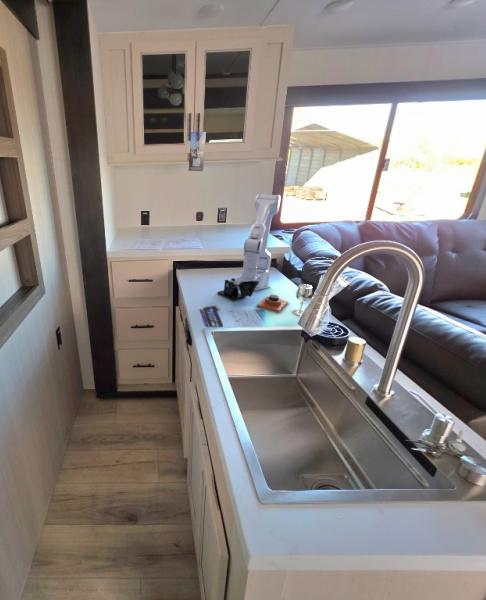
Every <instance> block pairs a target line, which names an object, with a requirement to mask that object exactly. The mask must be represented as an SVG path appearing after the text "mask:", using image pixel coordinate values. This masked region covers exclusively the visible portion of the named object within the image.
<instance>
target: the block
mask: <svg viewBox="0 0 486 600" xmlns="http://www.w3.org/2000/svg"><path fill="white" fill-rule="evenodd" d="M269 297H270V295H268V296H267V295H266V297H265V298H263V299H262V300H261V301H260V302H259V303H258V304H257V308H260V309H263V310H267V311H271V312H275V313H280V312H281V311H282V310H283V309H284V308H285V307H286V306H287V305H288V303H289V300H285V299H282V298H280V297H279V298H278V301H271V300H269Z"/></svg>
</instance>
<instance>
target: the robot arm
mask: <svg viewBox="0 0 486 600" xmlns="http://www.w3.org/2000/svg"><path fill="white" fill-rule="evenodd" d="M281 199H282V198H281V195H280V194H260V193H258V194H257V195H256V197H255V199H254V201H255V202H254V209H255V211H256V219H255V223H253V224H252V225H251V227H250V231H249V234H248V237H247V239H245V241H244V244H243V257H244V258H243V263H242V264H243V265H242V272H241V275H240V276H238V277H237V278H234V279H235V282H234V283H235V284H237V285H238V286H239V288H240V290H239V291H240V292H239V294H241V297H242V299H246V298H247V296H246V295H247V291H248V290H249V291H250V295H249V296H248V297H249V298H251V297H252V296H253V293H254V291H260V290H264V289H267V288H270V285H269V281H270V277H271V273H270V271H269V270H270V268H271V264H272V254H271V253H270V252H269V251H268V250H267V248H268V242H269V237H270V231H271V224H272V219H273V217H274V216H275V215H277V214H278V212H279V210H280V205H281V201H282V200H281Z"/></svg>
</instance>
